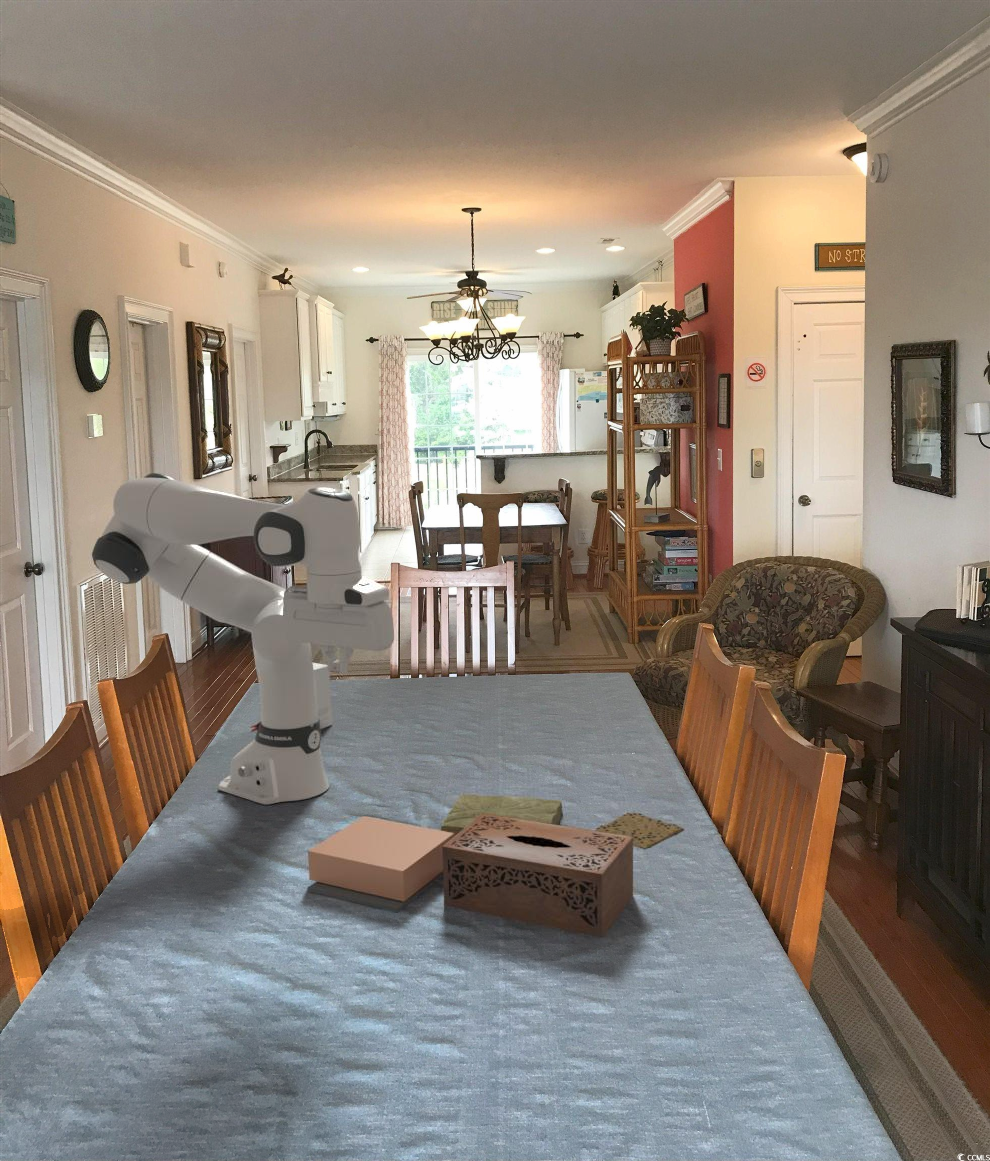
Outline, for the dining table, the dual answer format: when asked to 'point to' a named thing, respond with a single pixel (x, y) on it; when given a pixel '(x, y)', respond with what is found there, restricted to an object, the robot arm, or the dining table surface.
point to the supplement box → (323, 694)
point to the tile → (379, 858)
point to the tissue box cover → (539, 873)
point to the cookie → (641, 829)
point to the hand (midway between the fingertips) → (338, 671)
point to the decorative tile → (500, 810)
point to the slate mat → (367, 895)
